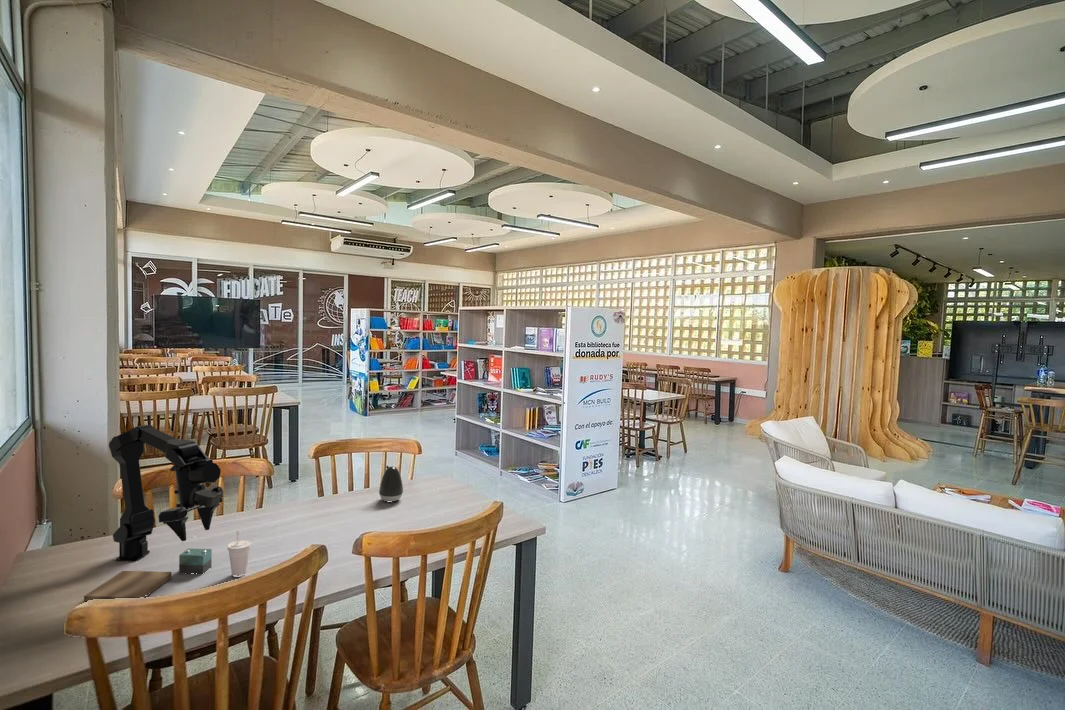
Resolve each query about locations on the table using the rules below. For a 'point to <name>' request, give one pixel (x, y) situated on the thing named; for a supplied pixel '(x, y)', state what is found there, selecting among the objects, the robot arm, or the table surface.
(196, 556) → the housing
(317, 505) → the table surface
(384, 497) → the black egg-shaped speaker
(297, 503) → the table surface
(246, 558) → the smoothie
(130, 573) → the stand
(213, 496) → the robot arm
